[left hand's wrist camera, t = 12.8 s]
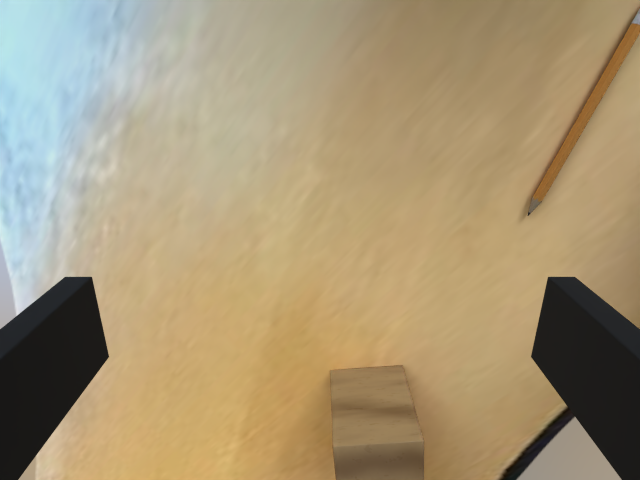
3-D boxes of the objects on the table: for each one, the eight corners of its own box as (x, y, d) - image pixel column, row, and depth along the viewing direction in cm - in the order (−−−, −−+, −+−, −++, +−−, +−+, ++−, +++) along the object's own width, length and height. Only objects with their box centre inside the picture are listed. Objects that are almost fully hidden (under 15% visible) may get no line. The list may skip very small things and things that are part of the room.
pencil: (643, -4, 34) (520, 212, 40) (656, -3, 33) (529, 217, 40) (647, 1, 34) (525, 214, 41) (661, 2, 34) (535, 219, 40)
